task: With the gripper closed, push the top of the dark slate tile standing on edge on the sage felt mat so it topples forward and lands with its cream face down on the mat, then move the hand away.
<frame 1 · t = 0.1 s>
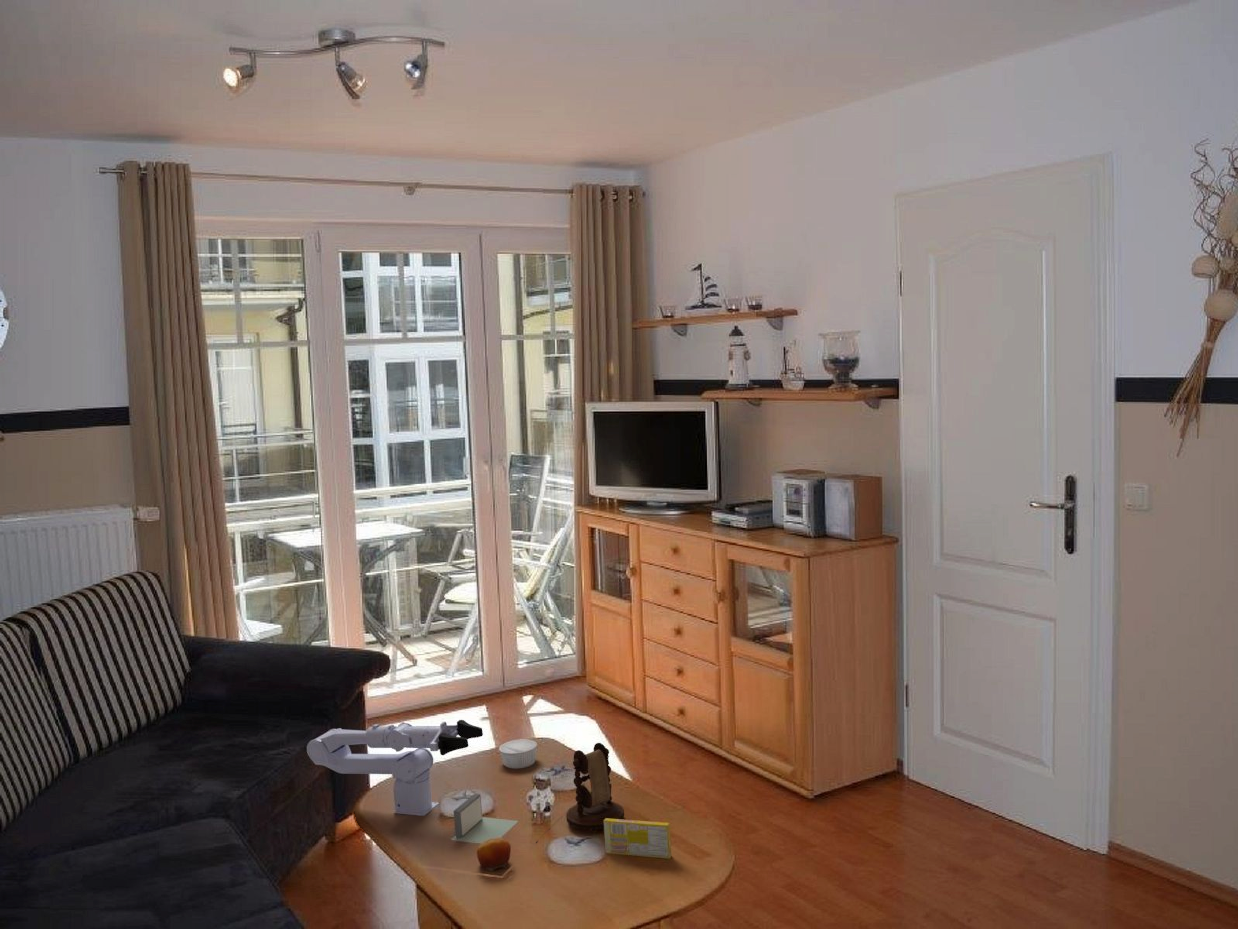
hand: (474, 737, 295), 22 cm above the table, tool horizontal, fingers open, 7 cm apart
ramekin: (519, 764, 333), on the table
fruit: (495, 867, 269), on the table
felt mat: (485, 832, 288), on the table
candy box: (638, 855, 270), on the table
slate tile: (469, 828, 290), resting on felt mat
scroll: (595, 823, 290), on the table
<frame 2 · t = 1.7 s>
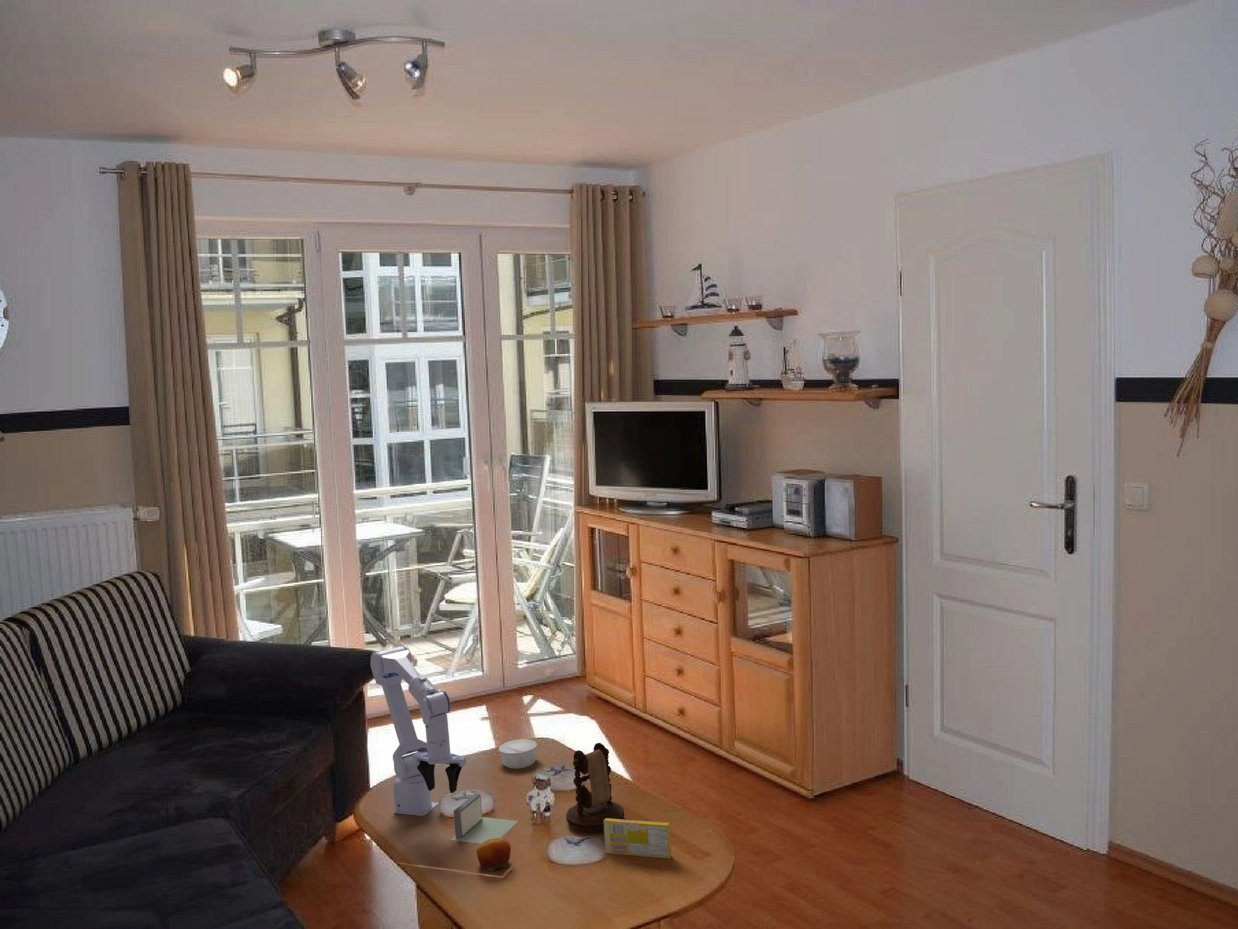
hand: (442, 790, 291), 10 cm above the table, tool pointing down, fingers open, 6 cm apart
nothing on the table moved.
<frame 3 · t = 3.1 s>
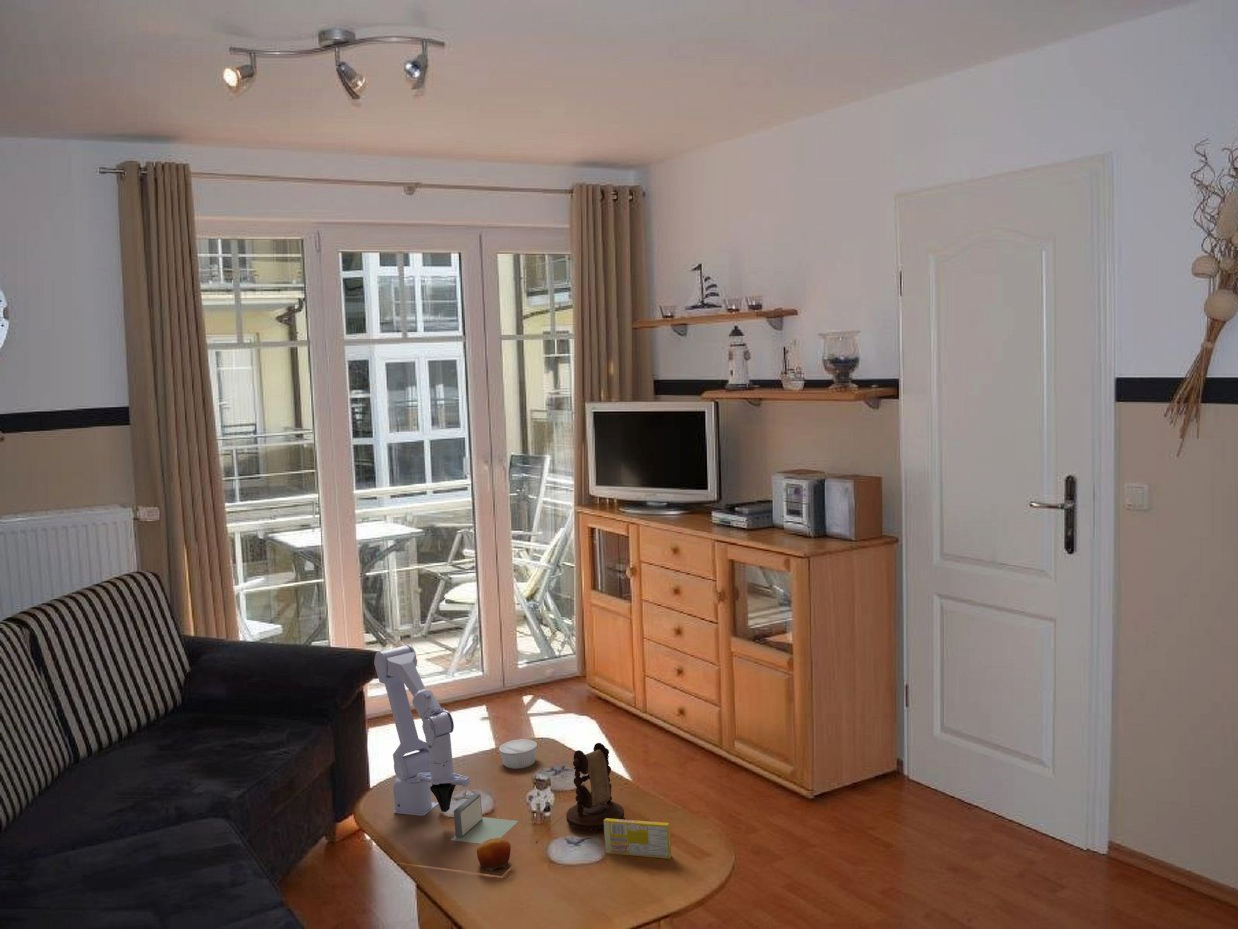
hand: (445, 810, 292), 5 cm above the table, tool pointing down, fingers closed
nothing on the table moved.
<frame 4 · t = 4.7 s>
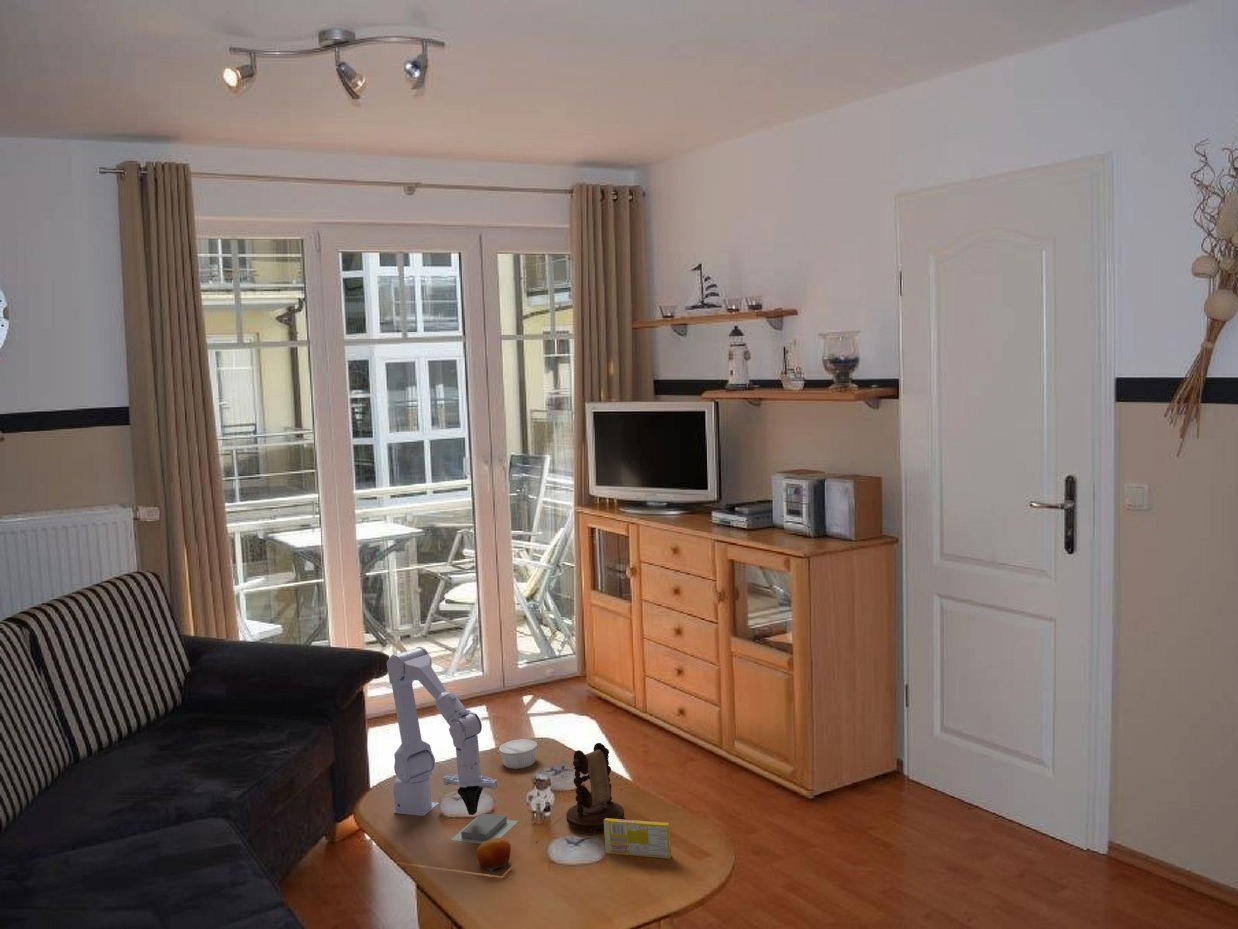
hand: (472, 813, 289), 5 cm above the table, tool pointing down, fingers closed
slate tile: (472, 825, 289), point 1 cm above the table, tilted 90°, touching felt mat
everything else where it was.
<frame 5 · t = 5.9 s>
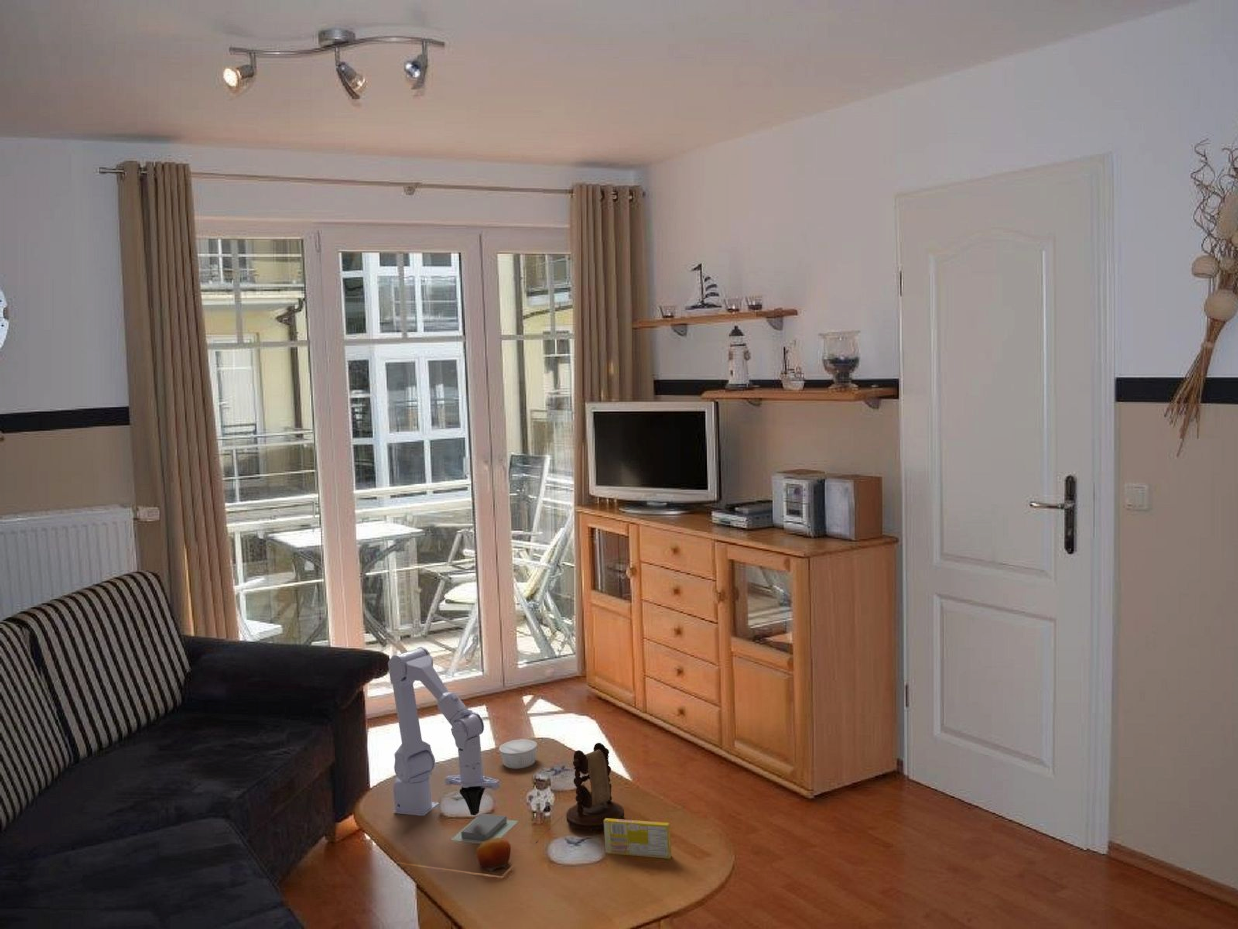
hand: (474, 813, 289), 5 cm above the table, tool pointing down, fingers closed
nothing on the table moved.
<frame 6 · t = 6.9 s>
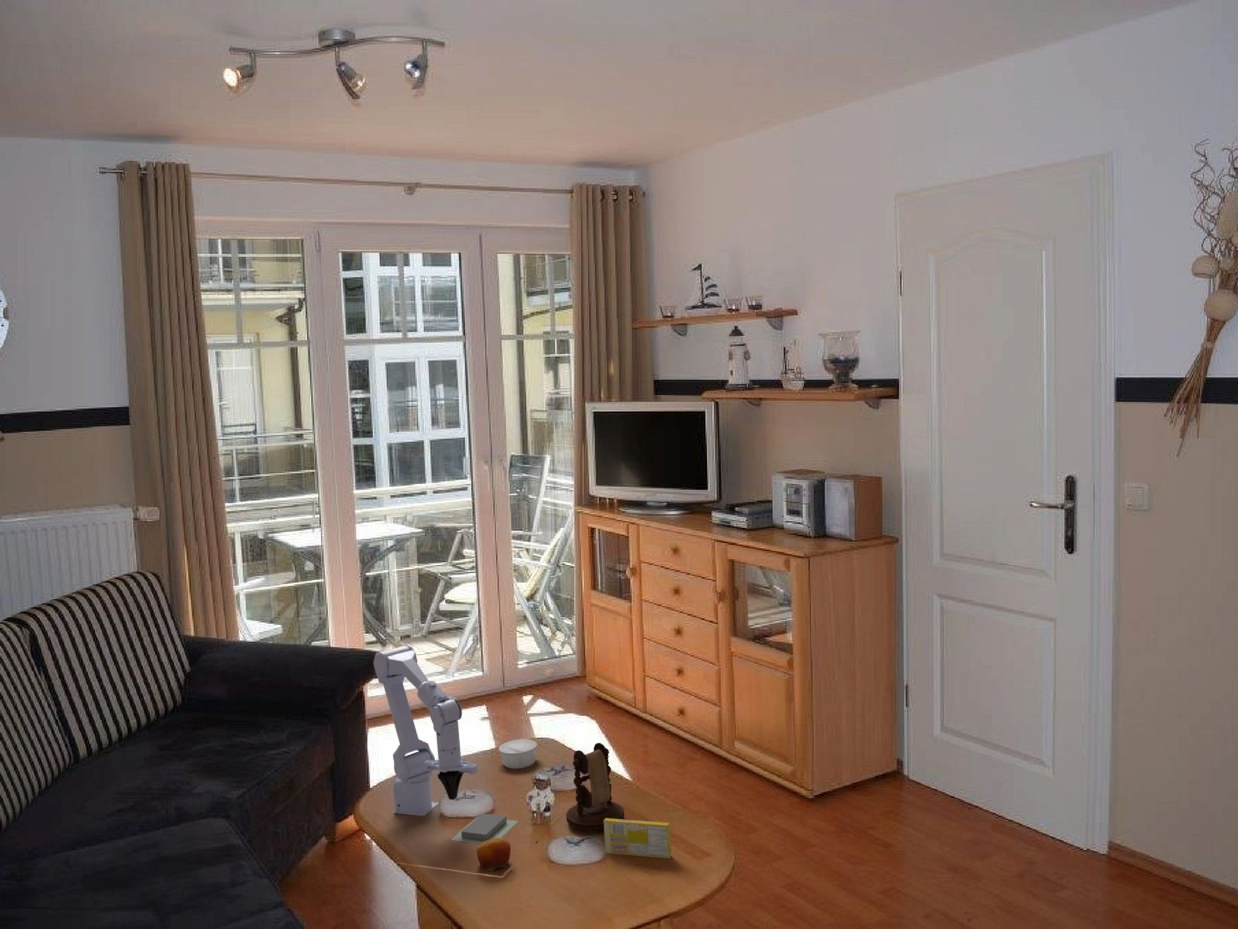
hand: (453, 798, 290), 8 cm above the table, tool pointing down, fingers closed
nothing on the table moved.
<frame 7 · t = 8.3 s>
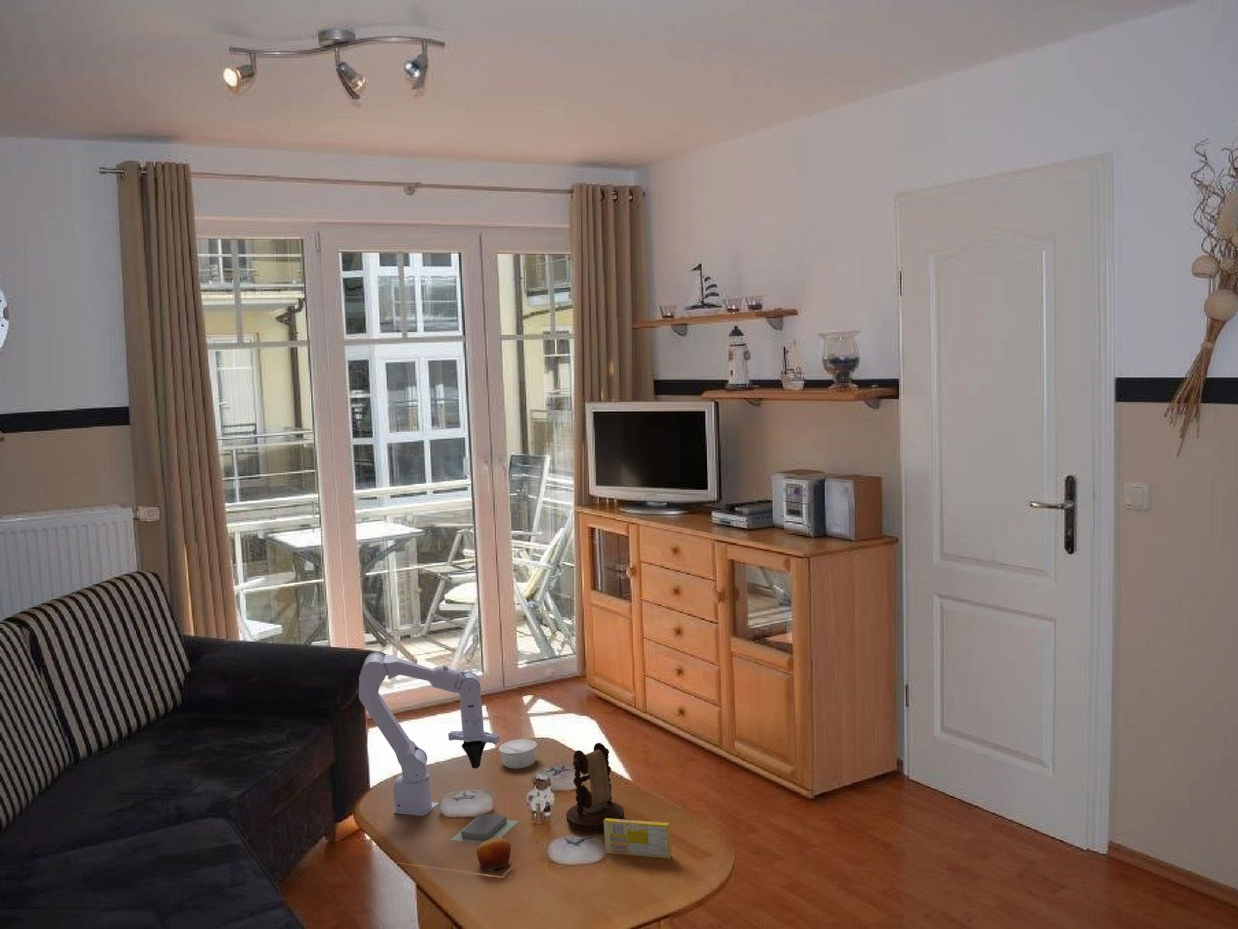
hand: (476, 767, 306), 10 cm above the table, tool pointing down, fingers closed
nothing on the table moved.
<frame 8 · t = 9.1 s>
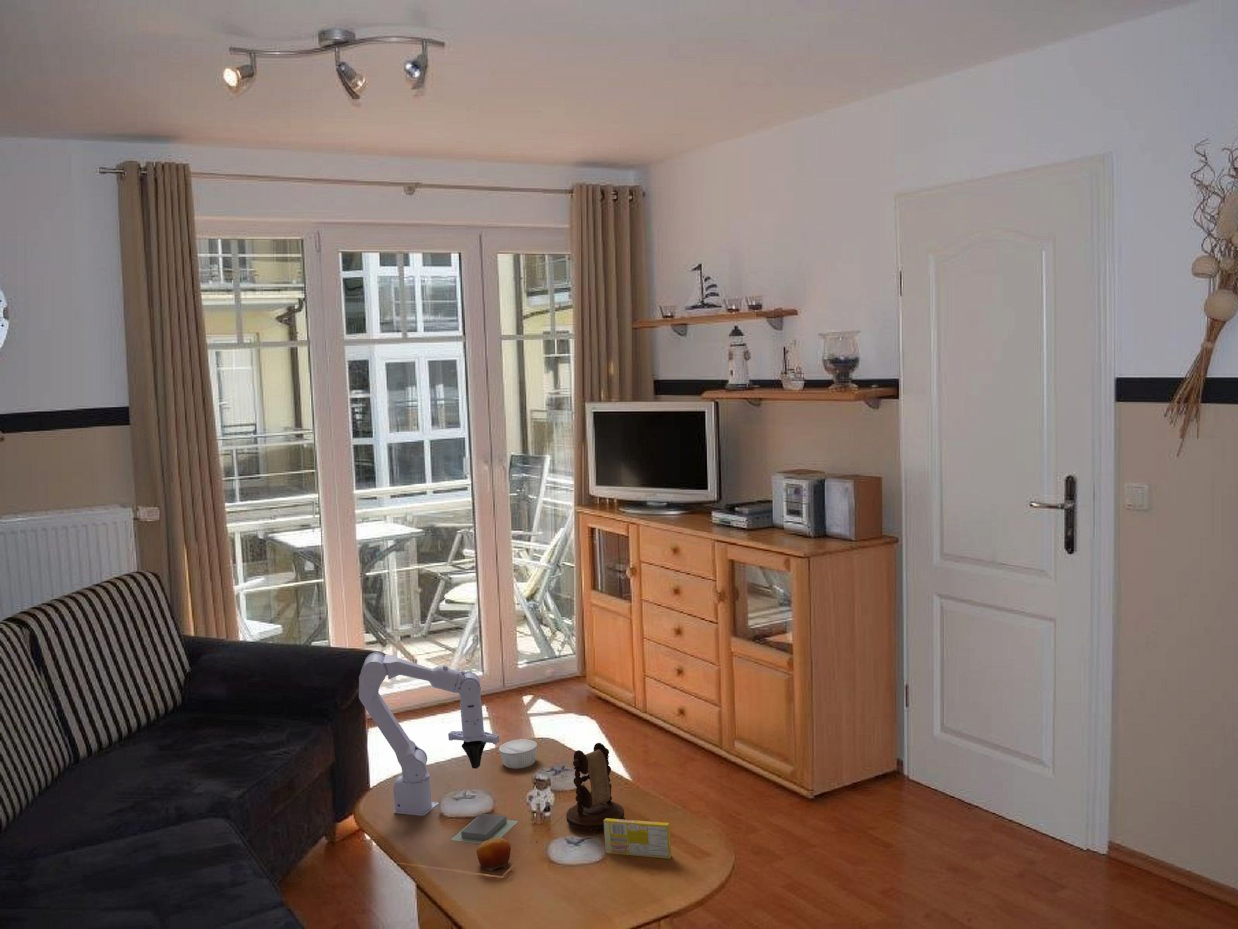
hand: (476, 767, 306), 10 cm above the table, tool pointing down, fingers closed
nothing on the table moved.
at the end: slate tile tilted 90°; slate tile inside the target area on the felt mat (3.6 cm from its centre), point 1.3 cm above the felt mat's base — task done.
